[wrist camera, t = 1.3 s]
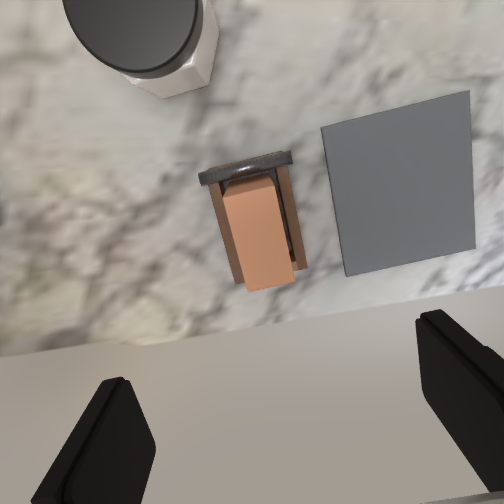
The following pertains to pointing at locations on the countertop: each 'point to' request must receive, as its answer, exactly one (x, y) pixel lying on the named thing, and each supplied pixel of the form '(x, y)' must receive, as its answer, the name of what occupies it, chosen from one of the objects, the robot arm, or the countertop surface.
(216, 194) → the dispenser
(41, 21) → the countertop surface
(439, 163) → the mat
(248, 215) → the orange block
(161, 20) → the jar
